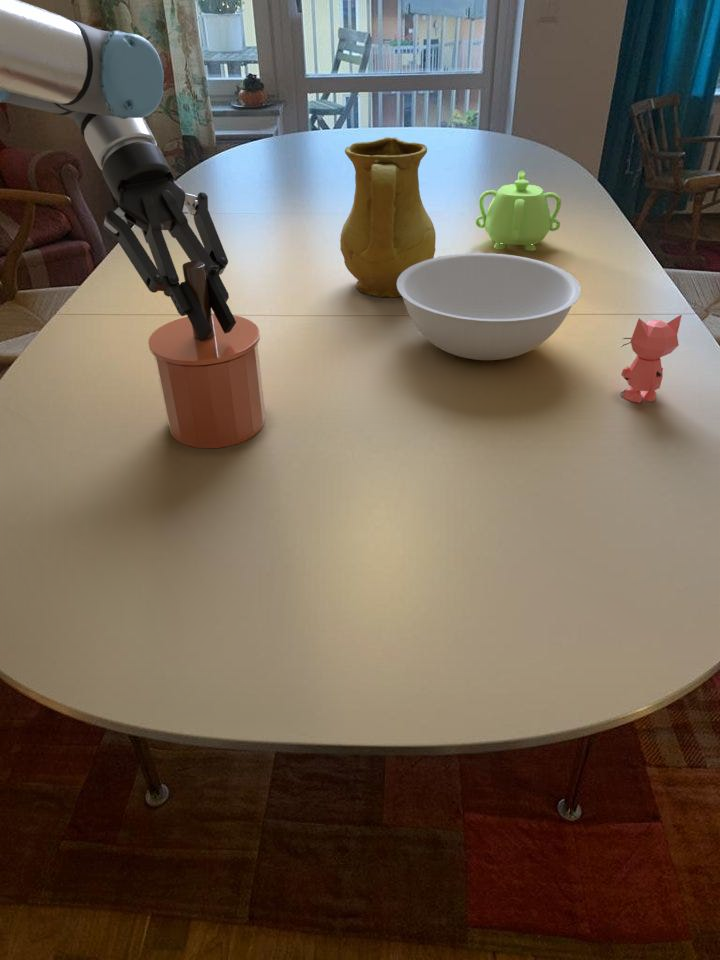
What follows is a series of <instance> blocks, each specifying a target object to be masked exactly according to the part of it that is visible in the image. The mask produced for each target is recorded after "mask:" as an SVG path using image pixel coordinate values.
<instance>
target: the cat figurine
mask: <svg viewBox="0 0 720 960" xmlns="http://www.w3.org/2000/svg"><path fill="white" fill-rule="evenodd" d="M682 316H683V314H682V313H681V314H679V315H677V316H676V317H675V318H673V319H672V320H670V321H668V322H666V321H663V320H659V319H651V320H648V321H646V322H645V321H643V320H642V319H641V318H639V317H638V319H637V321H636V324H635V328H634V330H633V333H632V336H631V337H623V338H622V340H630V342H627V343H625V344H623V345H622V346H620V348H622V347H623V346H626V345H629V344H630V345H631V348H632V351H633V352H634V353H635V354H636V357H635V358H634V360H633V361H632V363H631V364H630V366H628V365H627V366H626V367H625V368H623V369H622V371H621V374H620V376H622V377H623V378H624V380H626V382H627V385H628V386H630V387H628V388H625V389H624V390H622V391H620V397H622V398H623V399H626V400H628V401H630V402H633V403H638V404H640V403H642V402H643V401H642V398H643V399H644V400H646V401H647V402H654V401H656V400H657V392H656V391H657V390H659V389H661V385H662V381H663V373H664V372H663V370H664V368H663V367H662V360H661V358H663V357H665V356H667V355H670V354H672V353H673V352H674V351H675V350H676V348H678V347H679V346H680V345H679V338H678V334H679V329H680V324H681V320H682Z"/></svg>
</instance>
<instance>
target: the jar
mask: <svg viewBox="0 0 720 960" xmlns="http://www.w3.org/2000/svg"><path fill="white" fill-rule="evenodd" d="M154 361H155V366H156V367H155V368H156V371H157V376H158V381H159V386H160V391H161V396H162V401H163V406H164V411H165V417H166V421H167V422H166V423H167V426H168V428H169V433H170V435H171V436H172V437H173V439H175V440H176V441H177V442H179V443H181V444H182V445H185V446H188V447H192V448H199V449H219V448H220V449H221V448H225V447H231V446H235V445H238V444H240V443H243V442H246V441H248V440H249V439H251V438H253V437H254V436H255V435H257V434H258V433H259V432H260V431H261V429H262V428H264V424H265V421H266V417H265V416H266V410H265V400H264V391H263V380H262V372H261V362H260V353H259V344H257V345H256V346H255V347H254V348H253V349H252V350H250V351H249V352H248V353H246V354H244V355H242V356H240V357H237V358H235V359H232V360H228V361H225V362H221V363H215V364H209V365H179V364H173V363H169V362H165V361H163V360H160V359H158V358H157V357H155V356H154Z"/></svg>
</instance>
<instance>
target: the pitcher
mask: <svg viewBox="0 0 720 960" xmlns="http://www.w3.org/2000/svg"><path fill="white" fill-rule="evenodd" d="M427 153H428V147H427V145H425V143H419V142H407V141H404V140H400V139H399V138H398V137H396V136H394V137H390V136H386V137H382V138H379V139H376V140H372V141H363V142H362V141H361V142H354V143H352V144H350V145H349V146H346V147H345V149H344V154H345V155H346V156H347V157H348V159H349V160H350V162H351V163H352V165H353V168H354V171H355V174H354V182H355V186H354V196H353V202H352V203H353V204H352V206H351V208H350V209H351V210H350V212H349V214H348V216H347V218H346V220H345V222H344V223H343V225H342V228H341V233H340V238H339V239H340V240H339V242H340V243H339V244H340V249H339V250H340V252H341V254H342V256H343V263H344V265H345V268H346V269H347V271H348V272H349V273H350V274H351V275H352V276H353V277H354V278H355V279H356V280H357V281H356V283H355V285H354V287H355V288H356V290H358V291H359V292H361V293H364V294H366V295H368V296H374V297H377V298H384V297H387V298H399V297H403V296H402V295H401V294H400V293H399V291H398V289H397V279H398V277H399V276H400V275H401V273H402V272H403V271H405V270H406V269H407V268H409V267H411V266H413V265H415V264H417V263H419V262H422V261H425V260H428V259H432V258H435V253H436V240H437V239H436V229H435V226H434V223H433V220H432V219H431V217H430V216H429V214H428V212H427V210H426V208H425V206H424V204H423V201H422V197H421V191H420V180H419V169H420V168H419V167H420V165H421V161H422V160H423V158H424V157H425V156H426V155H427Z"/></svg>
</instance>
